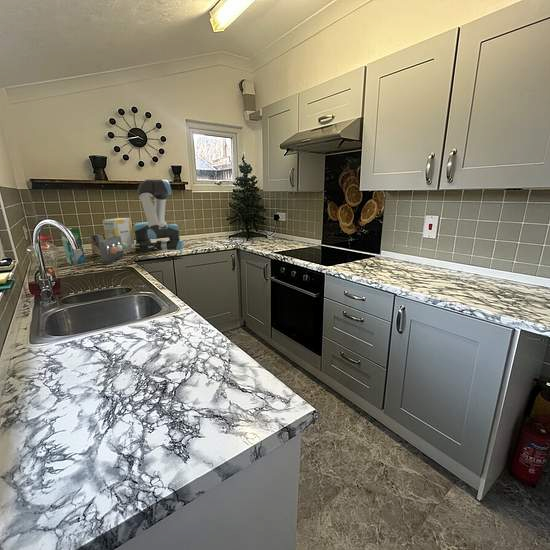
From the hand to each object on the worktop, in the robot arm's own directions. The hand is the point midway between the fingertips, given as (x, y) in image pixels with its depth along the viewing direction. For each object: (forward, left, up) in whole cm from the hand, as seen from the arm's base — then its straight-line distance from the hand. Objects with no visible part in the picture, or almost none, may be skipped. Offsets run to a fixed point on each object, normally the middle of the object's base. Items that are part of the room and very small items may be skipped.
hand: (131, 246), depth 227 cm
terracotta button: (+15, +7, -2) cm, 17 cm away
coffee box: (+14, -33, -9) cm, 37 cm away
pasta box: (0, -23, -9) cm, 25 cm away
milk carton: (+35, -15, -9) cm, 39 cm away
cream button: (+10, +2, -2) cm, 10 cm away
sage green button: (+4, -4, -2) cm, 6 cm away
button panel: (+15, -4, -9) cm, 18 cm away
